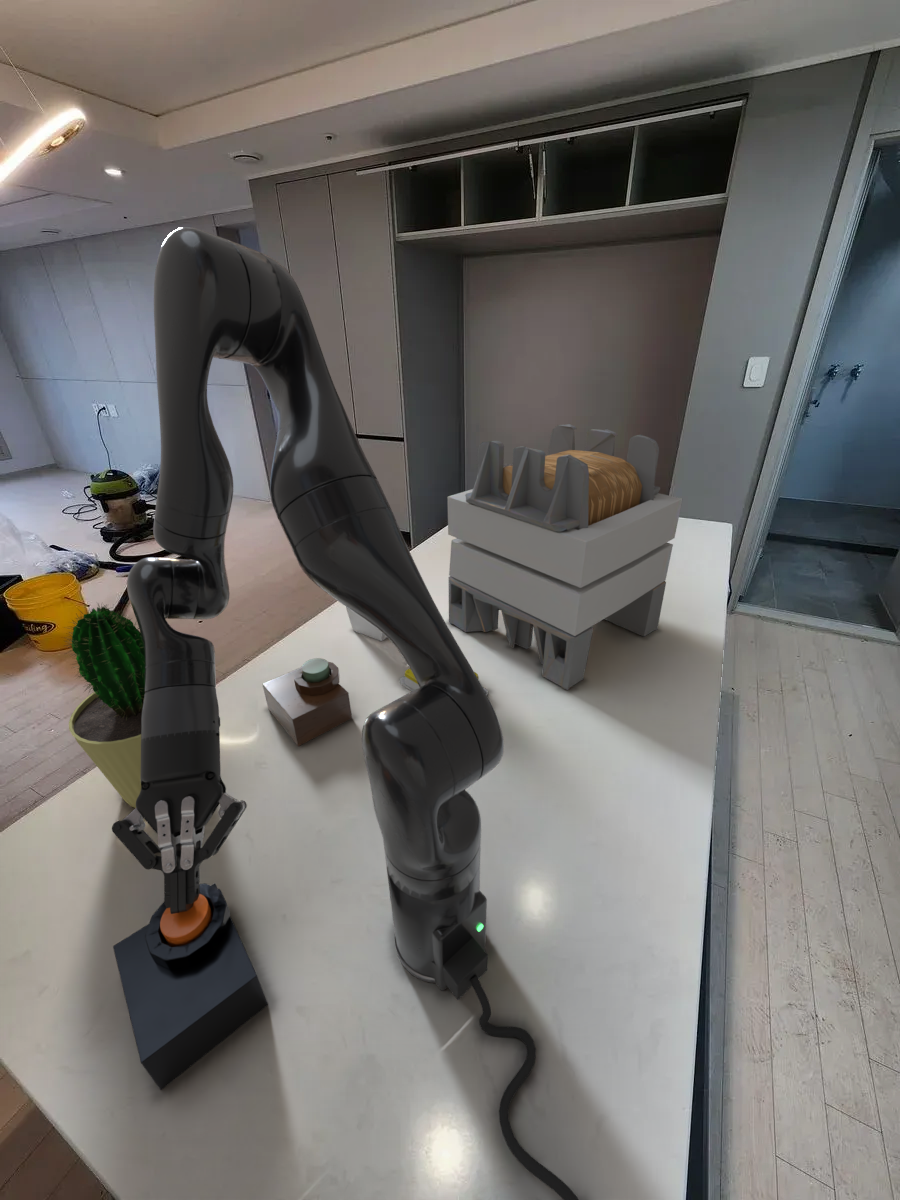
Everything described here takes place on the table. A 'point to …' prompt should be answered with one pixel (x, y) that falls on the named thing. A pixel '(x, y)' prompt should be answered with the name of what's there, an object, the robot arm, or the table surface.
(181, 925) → the knob front
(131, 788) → the potted cactus
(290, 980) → the table surface
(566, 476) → the transformer
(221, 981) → the black push button box
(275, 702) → the block back
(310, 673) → the knob back
